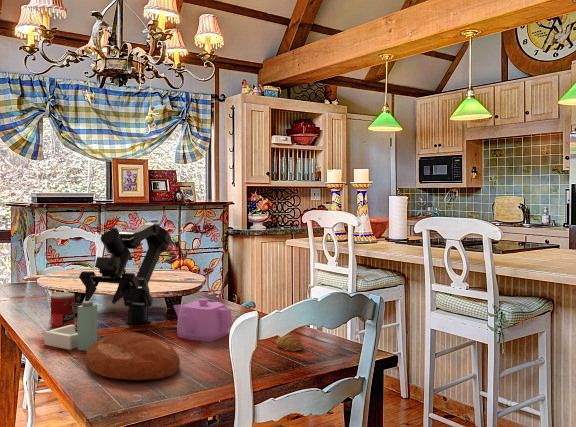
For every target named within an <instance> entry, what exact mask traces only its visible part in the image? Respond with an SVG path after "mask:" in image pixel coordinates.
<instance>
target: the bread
mask: <svg viewBox="0 0 576 427" xmlns="http://www.w3.org/2000/svg"><path fill="white" fill-rule="evenodd" d="M85 363H86V366H87V367H88V368H89V369H90V371H91V372H93V373H95V374H98V375H100V376H102V377H105V378H106V377H107V378H111V379H118V380H120V379H121V380H129V381H147V380H148V381H150V380H159V379H160V380H162V379H164V378H167V377H170V376H173V375H174V374H175V373H176V372H177V371H178V369H179V367H180V366H181V359H180V357H179V354H178V353H177V351H176V349H175V348H174V347H173V346H172V345H171V344H170V343H168V342H167V341H164V340H161V339H157V338H154V337H151V336H149V335H146V334H142V333H138V332H128V331H127V332H116V333H113V334H109V335H106V336H104V337H102V338H101V339H99V340H97V342H95V343H93V344H92V345H91V346H90V347H89V349H88V351H87V350H86V355H85Z"/></svg>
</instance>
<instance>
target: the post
mask: <svg viewBox="0 0 576 427" xmlns="http://www.w3.org/2000/svg"><path fill="white" fill-rule="evenodd" d="M77 333H78V347H77V351H86V352H87V351H88V349H89V347H90V346H91V345H92V344H93V343H95V342H98V304H94V302H93V301H92V300H89V301H85V300H84V301H82V302H81V305H77Z"/></svg>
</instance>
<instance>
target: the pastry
mask: <svg viewBox="0 0 576 427" xmlns="http://www.w3.org/2000/svg"><path fill="white" fill-rule="evenodd" d="M287 334H288V335H286V336H284V337H279V336H277V338H276V340H275V343H276V345H277V347H278V348H279V347H281V348H283V349H282V350H284V349H287V350H290V351H289V352H296V351H301V350H302V349H303V347H304V346H303V344H302V341H301V340H300V339H299V338H298V336H295V335H293V334H291V335H290V333H287ZM281 348H280V349H281ZM287 350H286V351H287Z"/></svg>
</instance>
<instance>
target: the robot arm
mask: <svg viewBox="0 0 576 427" xmlns="http://www.w3.org/2000/svg"><path fill="white" fill-rule="evenodd" d="M144 240H146V244H147V251H146V253H145V255H144V258H143V260H142V262H141V265H140V267H139V269H138V271H137V273H136V274H135V273H133V272H132V273H130V272H127V270H126V266H127V264H128V262H129V261H133V256H132V252H131V251H130V250H137V249H138V248H139V247H140V246H141V245H142V244H141V243H142V241H144ZM100 241H101V243H102V244H103V246H104V248H105V250H106V251H107V253H109V254H110V257H107V256H106V257H102V256H97V257H96V259H95V265H94V268H97V269H99V271H98V272H99V273H100V274H101V275H97V274H96V273H95V271H89V270H87V271H86V270H84V271H83V270H82V271H80V274H79V276H78V278H79V279H80V281H81V282H82V284H83V285H84V287H85V296H84V297H85V298H84V302H85V301H91V298H92V297H93V295H94V294H95V293H96V291H97V287H98V286H99V284H100V283H105V284H106V283H107V284H114V285H115V284H118V286H117V288H116V290H115V293H114V296H113V298H112V300H111V303H112V305H114V304H116V303H117V302H118V301H119V300H121V299H123V302H124V303H123V304H124V306H125V307H128V310H127V320H125V323H126V324H131V325H134V326H138V325H139V326H140V325H143V324H148V323H152V320H150V319H149V307H152V305H153V301H154V298H153V297H152V294H151V293H150V291H151V290H150V287H149V283H150V280H151V278H152V275H153V273H154V270H155V268H156V266H157V263H158V261H159V258H160V256H161V255H162V253H164V252H165V251H167V250H168V248H169V246H170V244H171V242H172V236H171V235H170V233H169V231H168V230H167V229H166V228H163V227H161V225H160V224H159V223H157V222H145V223H144V224H143V225H141V226H139V227H137V228H135V229H133V230H130V231H127V230H126V231H120V232H119V229H118V228H117V227H111V228H110V230H107V231H106V232H103V234H101V236H100Z"/></svg>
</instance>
